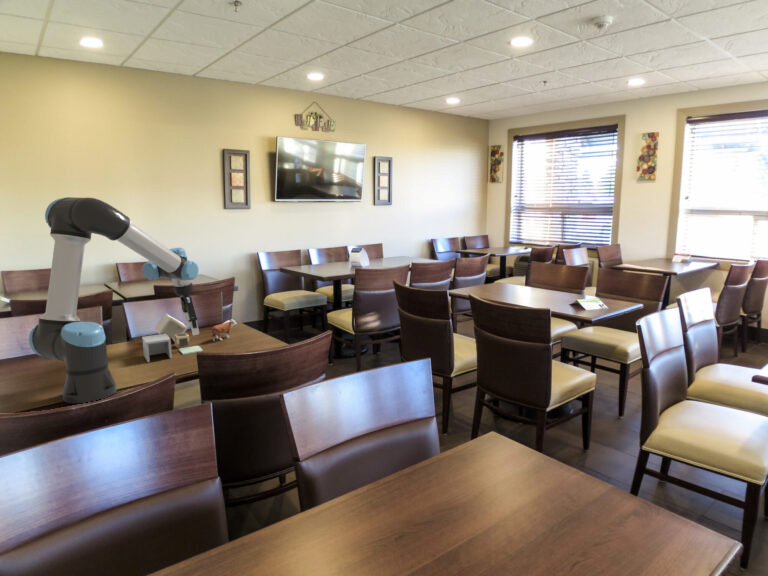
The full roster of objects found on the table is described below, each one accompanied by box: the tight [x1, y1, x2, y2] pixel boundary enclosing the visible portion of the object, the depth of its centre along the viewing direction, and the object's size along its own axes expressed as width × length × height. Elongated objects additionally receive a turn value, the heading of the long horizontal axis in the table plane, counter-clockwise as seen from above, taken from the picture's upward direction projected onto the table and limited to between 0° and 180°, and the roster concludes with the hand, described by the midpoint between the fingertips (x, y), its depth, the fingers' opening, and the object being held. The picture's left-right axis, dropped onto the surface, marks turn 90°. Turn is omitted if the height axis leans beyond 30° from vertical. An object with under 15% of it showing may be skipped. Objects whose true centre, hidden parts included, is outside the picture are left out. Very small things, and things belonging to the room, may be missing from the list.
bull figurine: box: [211, 318, 238, 342], centre depth 225 cm, size 4×13×8 cm, turn 148°
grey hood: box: [141, 333, 173, 363], centre depth 199 cm, size 10×9×8 cm
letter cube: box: [174, 332, 191, 349], centre depth 214 cm, size 5×5×5 cm
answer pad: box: [178, 345, 204, 356], centre depth 208 cm, size 8×8×1 cm
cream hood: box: [154, 313, 188, 343], centre depth 222 cm, size 10×9×8 cm
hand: (193, 330), depth 217 cm, fingers open, 13 cm apart
